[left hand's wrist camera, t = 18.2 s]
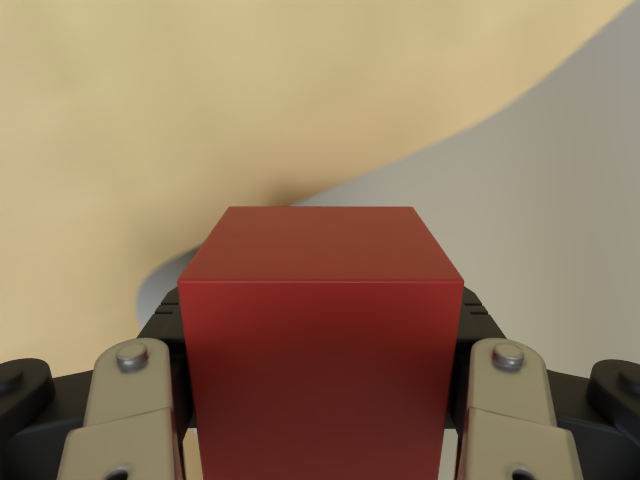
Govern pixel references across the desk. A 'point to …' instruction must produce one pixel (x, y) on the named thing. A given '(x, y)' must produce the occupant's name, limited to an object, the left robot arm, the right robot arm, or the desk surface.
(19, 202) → the desk surface
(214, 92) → the desk surface
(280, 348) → the brick
